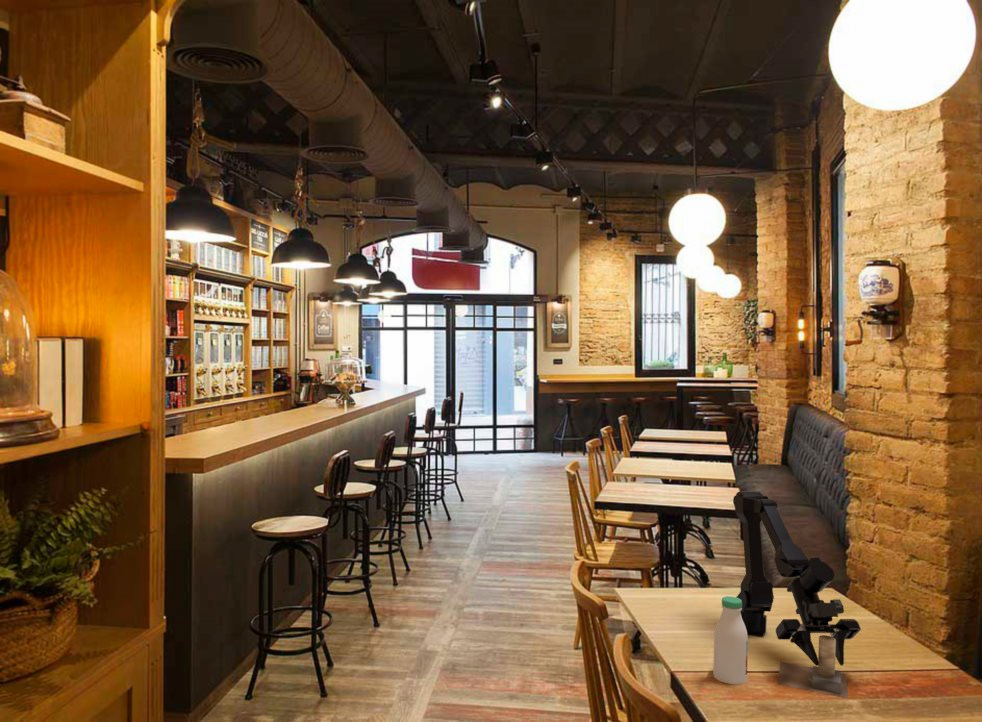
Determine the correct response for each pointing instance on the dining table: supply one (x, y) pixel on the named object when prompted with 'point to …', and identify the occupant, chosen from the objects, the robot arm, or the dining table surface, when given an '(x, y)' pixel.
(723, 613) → the milk bottle
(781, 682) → the walnut board
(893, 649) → the dining table surface
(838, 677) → the tan and grey post
